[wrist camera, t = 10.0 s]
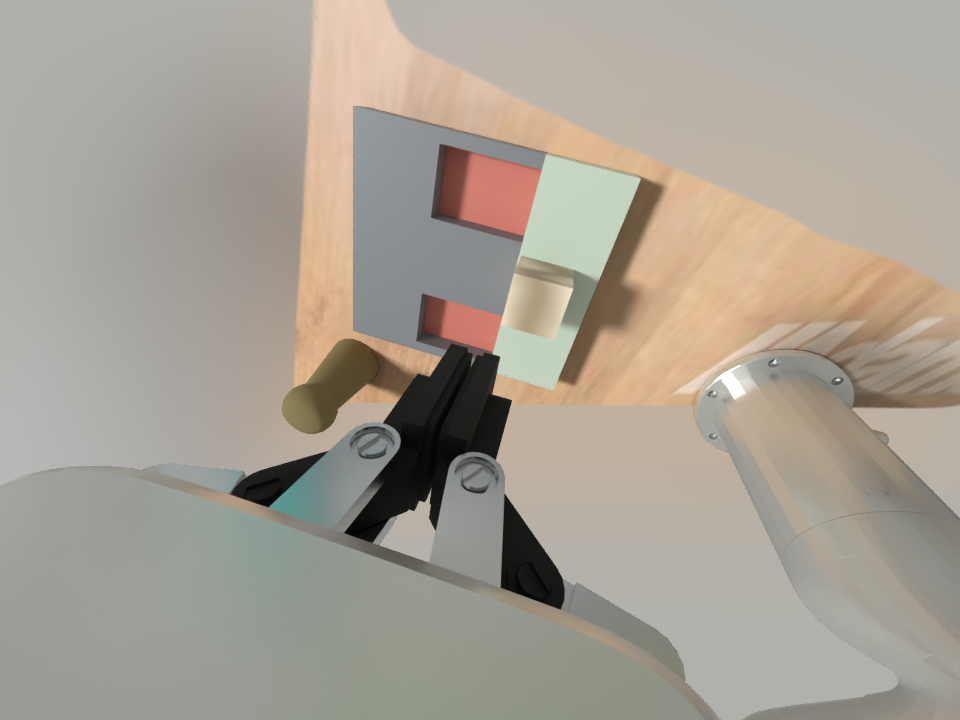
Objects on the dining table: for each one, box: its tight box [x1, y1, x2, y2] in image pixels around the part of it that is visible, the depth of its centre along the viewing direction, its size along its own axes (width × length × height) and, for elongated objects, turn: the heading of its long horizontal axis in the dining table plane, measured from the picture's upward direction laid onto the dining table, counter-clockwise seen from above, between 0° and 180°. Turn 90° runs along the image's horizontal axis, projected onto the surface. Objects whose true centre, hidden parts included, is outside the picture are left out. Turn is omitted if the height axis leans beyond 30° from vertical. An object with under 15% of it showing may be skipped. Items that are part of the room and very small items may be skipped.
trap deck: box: [353, 106, 641, 390], centre depth 33 cm, size 22×20×2 cm
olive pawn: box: [282, 339, 379, 434], centre depth 39 cm, size 6×6×11 cm
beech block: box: [501, 256, 573, 340], centre depth 30 cm, size 4×4×4 cm
